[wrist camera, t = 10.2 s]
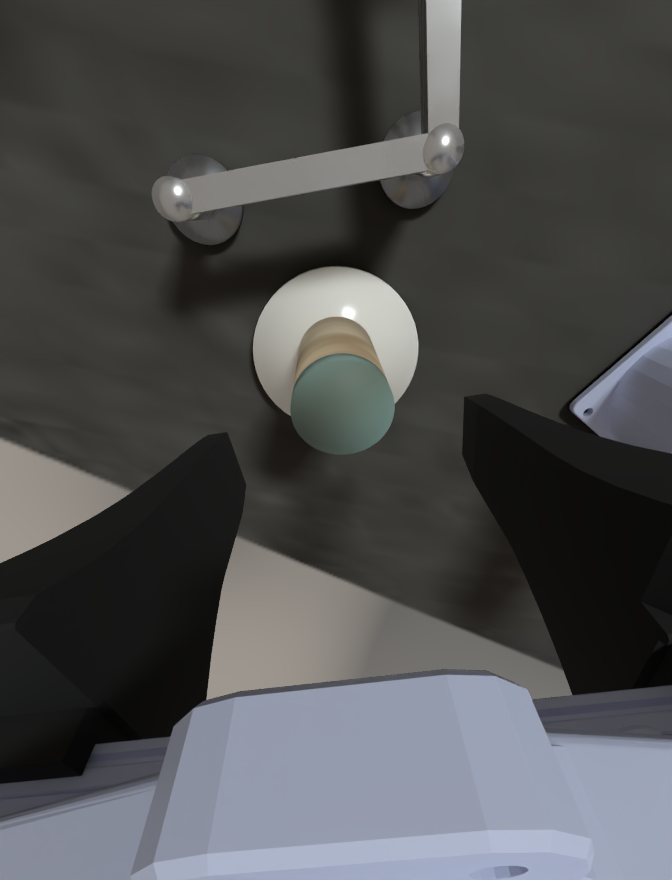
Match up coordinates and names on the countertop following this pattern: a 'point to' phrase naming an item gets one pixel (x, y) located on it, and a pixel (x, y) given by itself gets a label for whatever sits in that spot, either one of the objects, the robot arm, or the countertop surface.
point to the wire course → (339, 151)
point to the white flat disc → (333, 297)
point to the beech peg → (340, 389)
